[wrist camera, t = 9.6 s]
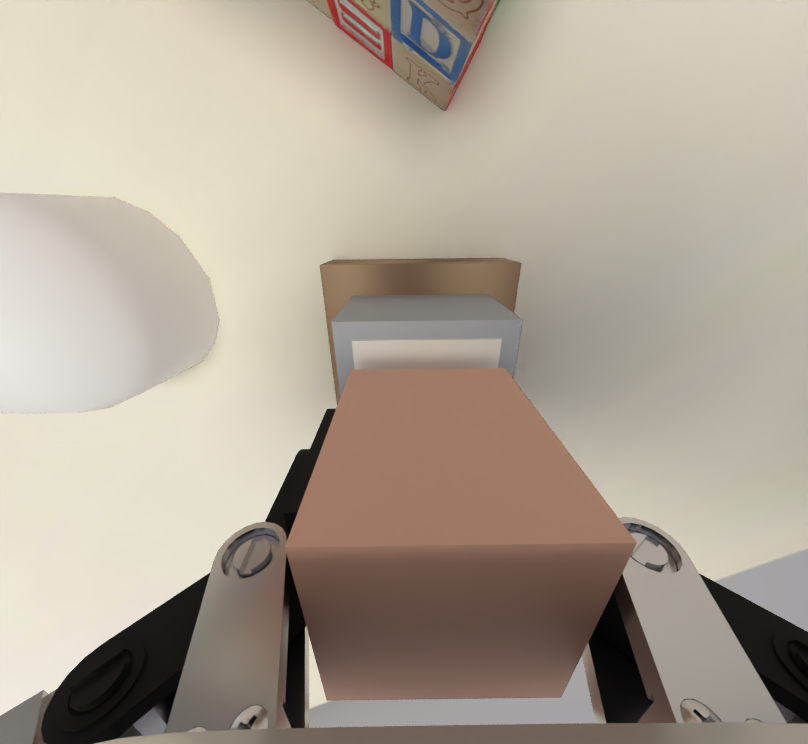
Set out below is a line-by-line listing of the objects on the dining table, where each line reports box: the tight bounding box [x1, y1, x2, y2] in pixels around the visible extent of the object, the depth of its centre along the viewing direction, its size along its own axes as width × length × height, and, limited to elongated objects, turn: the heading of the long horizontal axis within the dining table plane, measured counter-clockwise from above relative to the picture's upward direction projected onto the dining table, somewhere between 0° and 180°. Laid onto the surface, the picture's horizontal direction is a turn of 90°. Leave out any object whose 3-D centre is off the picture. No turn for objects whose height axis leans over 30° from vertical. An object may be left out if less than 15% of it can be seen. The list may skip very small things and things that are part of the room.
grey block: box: [332, 294, 523, 397], centre depth 15 cm, size 7×7×5 cm
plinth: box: [320, 258, 521, 405], centre depth 18 cm, size 10×10×3 cm
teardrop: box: [0, 193, 219, 414], centre depth 13 cm, size 11×11×12 cm
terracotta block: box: [285, 368, 637, 700], centre depth 8 cm, size 5×5×6 cm
